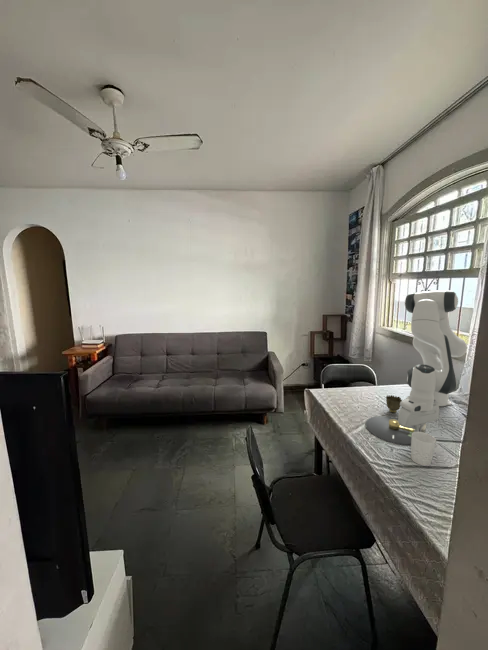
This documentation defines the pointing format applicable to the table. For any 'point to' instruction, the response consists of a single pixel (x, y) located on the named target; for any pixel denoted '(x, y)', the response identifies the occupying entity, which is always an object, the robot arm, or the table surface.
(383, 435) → the dial
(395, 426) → the needle
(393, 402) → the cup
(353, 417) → the table surface
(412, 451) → the white cup
